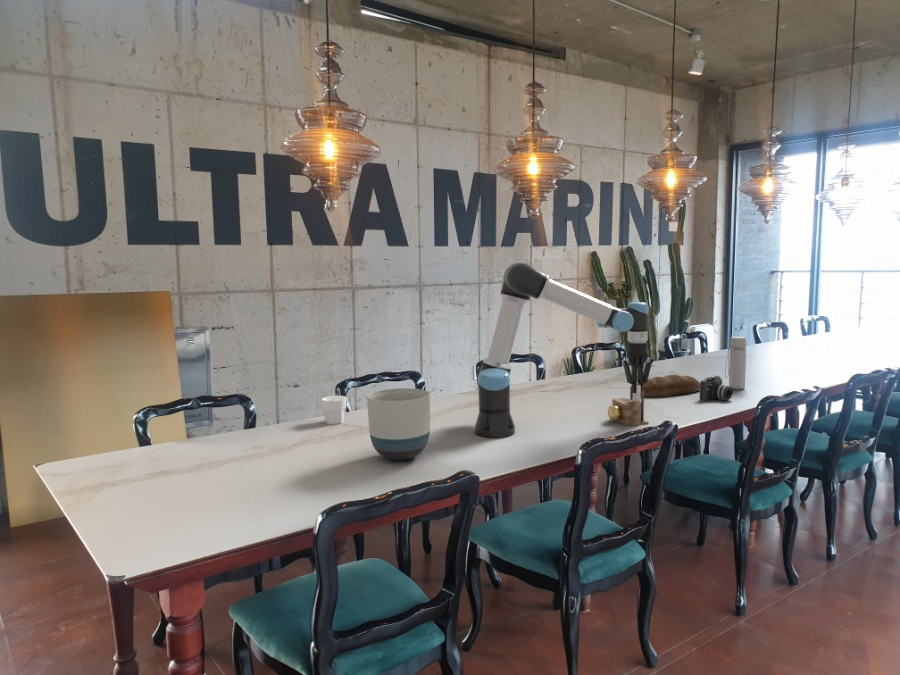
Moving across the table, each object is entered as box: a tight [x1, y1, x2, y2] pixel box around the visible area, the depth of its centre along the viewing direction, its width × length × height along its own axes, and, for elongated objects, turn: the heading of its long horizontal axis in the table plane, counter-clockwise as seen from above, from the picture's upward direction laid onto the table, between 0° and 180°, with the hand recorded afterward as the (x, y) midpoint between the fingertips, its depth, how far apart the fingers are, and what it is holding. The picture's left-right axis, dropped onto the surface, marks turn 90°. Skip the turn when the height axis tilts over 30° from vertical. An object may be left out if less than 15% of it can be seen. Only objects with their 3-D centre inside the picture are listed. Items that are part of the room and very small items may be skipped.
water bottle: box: [724, 336, 747, 390], centre depth 295 cm, size 9×8×25 cm
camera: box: [699, 375, 733, 402], centre depth 273 cm, size 14×11×10 cm
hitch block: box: [611, 385, 649, 426], centre depth 239 cm, size 9×12×13 cm
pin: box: [607, 405, 623, 421], centre depth 239 cm, size 12×6×6 cm, turn 101°
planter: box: [366, 387, 431, 462], centre depth 200 cm, size 20×20×21 cm
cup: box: [321, 395, 347, 425], centre depth 250 cm, size 10×10×10 cm
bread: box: [642, 374, 701, 398], centre depth 290 cm, size 16×36×8 cm, turn 113°
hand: (637, 400), depth 240 cm, fingers closed
